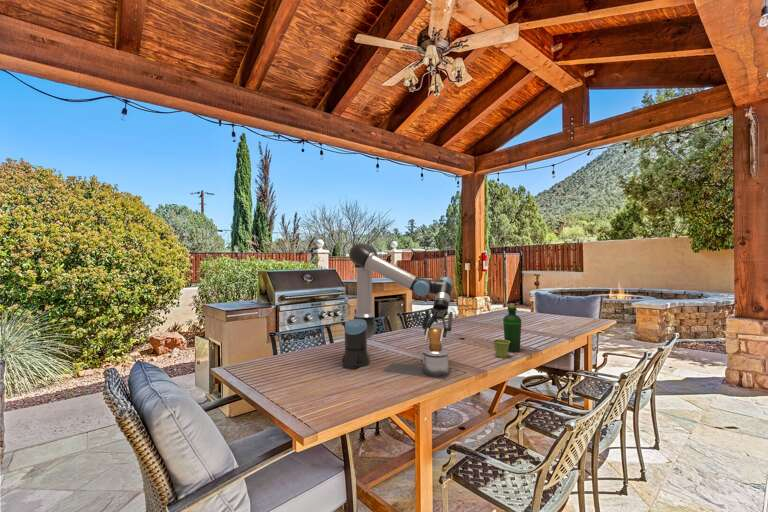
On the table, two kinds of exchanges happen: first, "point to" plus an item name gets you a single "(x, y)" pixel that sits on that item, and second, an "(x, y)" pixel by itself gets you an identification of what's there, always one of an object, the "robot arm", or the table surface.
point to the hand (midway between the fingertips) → (433, 341)
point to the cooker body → (435, 365)
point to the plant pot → (501, 347)
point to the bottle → (512, 329)
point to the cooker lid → (435, 344)
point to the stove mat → (410, 370)
